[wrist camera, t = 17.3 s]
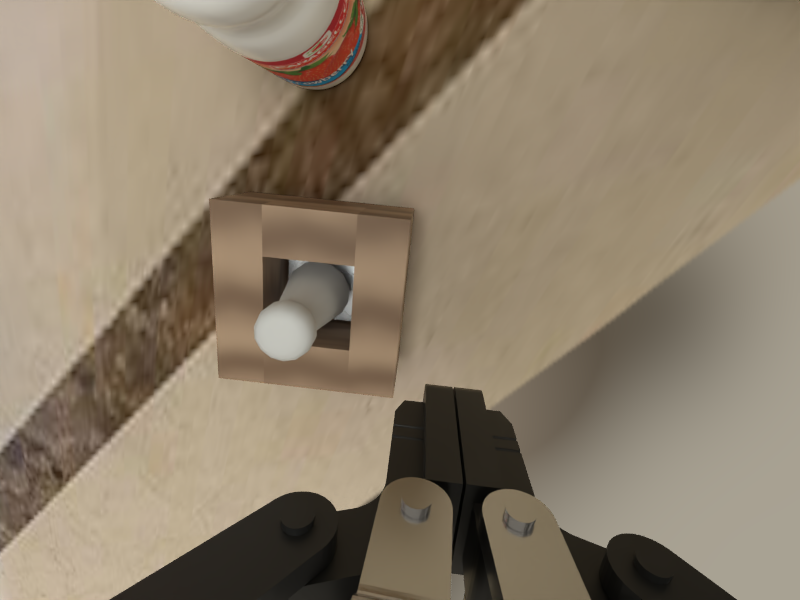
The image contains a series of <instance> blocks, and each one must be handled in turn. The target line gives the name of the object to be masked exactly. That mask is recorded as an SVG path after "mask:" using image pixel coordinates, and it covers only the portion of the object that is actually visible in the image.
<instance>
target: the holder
mask: <svg viewBox="0 0 800 600" xmlns="http://www.w3.org/2000/svg"><path fill="white" fill-rule="evenodd" d="M209 204H210V223H211V242H212V261H213V280H214V299H215V317H216V336H217V355H218V374H219V378H225V379H234V380H242V381H251V382H260V383H268V384H277V385H285V386H294V387H303V388H311V389H320V390H329V391H337V392H346V393H355V394H363V395H372V396H380V397H389V398H393V393H394V386H395V379H396V372H397V365H398V358H399V348H400V338H401V329H402V319H403V310H404V300H405V290H406V281H407V271H408V261H409V252H410V242H411V233H412V223H413V213H414V209H413V208H403V207H394V206H384V205H374V204H365V203H355V202H345V201H336V200H326V199H316V198H307V197H297V196H287V195H278V194H268V193H258V192H245V193H240V194H234V195H228V196H223V197H217V198H212V199H209ZM289 259H290V260H299V261H308V262H318V263H327V264H336V265H346V266H354V281H353V298H352V314H351V321H345V320H336V319H332V320H331V321H329V322H328V323H327V324H325V325H324V326H322V327H321V328H320V329H318V330H317V336H316V339H315V341H314V343H313V344H312V346H311V348H310V350H309V351H308V352H306V353H305V354H304V355H302V356H301V357H299V358H298V359H296V360H290V361H281V360H277V359H274V358H271V357H269V356H268V355H267V354H266V353H264V352H263V351H262V350H261V349H260V347H259V346H258V344H257V342H256V340H255V339H254V325H255V323H256V321H257V319H258V316H259V314H260V312H261V311H262V310H264V309H265V308H266V307H268V306H269V305H271V304H272V303H274V302H276V301H279V300H280V298H281V296H282V294H283V291H284V289H285V287H286V285H287V283H288V281H289Z"/></svg>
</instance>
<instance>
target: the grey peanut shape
mask: <svg viewBox="0 0 800 600" xmlns="http://www.w3.org/2000/svg"><path fill="white" fill-rule="evenodd" d="M348 301H349V286H348V283H347V281H346V279H345V277H344V275H343V273H341V272H340V271H339V270H338V269H337V268H336V267H334V266H333V265H331V264H327V263H318V262H309V263H304V264H303V265H301V266H300V267H298V268H297V269H296V270H294V271H293V272H292V274H291V277H290V279H289V281H288V283H287V285H286V287H285V289H284V291H283V294H282V296H281V298H280V300H279V301H276V302H274V303H272V304H271V305H269V306H268V307H266V308H265V309H264V310H262V311H261V312H260V314H259V316H258V319H257V321H256V323H255V325H254V339H255V340H256V342H257V344H258V346H259V347H260V349H261V350H262V351H263V352H264V353H266V354H267V355H268V356H269V357H271V358H274V359H277V360H281V361H290V360H296V359H298V358H299V357H301V356H302V355H304V354H305V353H306V352H308V351H309V350H310V348H311V346H312V344H313V343H314V341H315V339H316V336H317V330H318V329H320V328H321V327H322V326H324V325H325V324H327V323H328V322H329V321H331V320H332V319H334V318H335V317H336V316H338V315H339V314H341V313H342V312H343V310H344V308H345V307H346V305H347V303H348Z"/></svg>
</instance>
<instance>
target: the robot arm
mask: <svg viewBox="0 0 800 600" xmlns="http://www.w3.org/2000/svg"><path fill="white" fill-rule="evenodd" d="M451 573H453V574H461V575H464V585H465V593H464V598H463V600H737V599H735V598H734V597H733V596H731V595H730V594H728V593H727V592H726V591H725V590H723V589H722V588H721V587H719V586H718V585H716V584H715V583H714V582H712V581H711V580H710V579H708V578H707V577H706V576H704V575H703V574H702V573H700V572H699V571H698V570H696V569H695V568H693V567H692V566H691V565H689V564H688V563H687V562H685V561H684V560H682V559H681V558H680V557H678V556H677V555H676V554H674V553H673V552H672V551H670V550H669V549H667V548H666V547H664V546H663V545H661V544H659V543H657V542H656V541H653V540H651V539H649V538H646V537H644V536H641V535H636V534H620V535H616V536H615V537H613V538H612V539H611V540H610V541H609V543H608V545H607V548H604V547H601V546H599V545H596V544H594V543H591V542H588V541H586V540H583V539H581V538H578V537H576V536H573V535H572V534H569V533H568V532H566V531H564V530H562V529H561V528H559V526H558V524H557V521H556V519H555V518H554V515H553V514H552V512H551V511H550V510H549V509H548V508H547V507H546V505H545V504H543V503H542V502H541V501H540V500H538V499H536V498H535V496H534V493H533V490H532V487H531V483H530V480H529V477H528V474H527V471H526V467H525V464H524V461H523V458H522V455H521V453H520V448H519V445H518V442H517V441H516V436H515V433H514V429H513V426H512V424H511V423H510V422H509V421H508V420H507V419H506V417H505V416H504V415H503V414H502V413H501V412H500V411H492V410H486V407H485V402H484V398H483V394H482V391H481V390H473V389H464V388H456V387H454V389H453V388H452V387H447V386H438V385H429V384H426V385H425V390H424V398H423V402H415V401H406V400H405V401H404V402H403V403H402V404H401V405H400V406H399V407H398V408H397V409H396V411H395V418H394V426H393V433H392V441H391V449H390V456H389V464H388V472H387V479H386V484H385V487H384V489H383V491H382V492H381V494H380V495H379V496H378V497H377V498H376V499H375V500H373V501H372V502H370V503H368V504H366V505H364V506H361V507H358V508H354V509H348V510H341V511H336V509H335V507H334V506H333V504H332V503H331V502H330V501H329V500H328V499H326V498H325V497H323V496H321V495H319V494H316V493H312V492H293V493H289V494H286V495H283V496H281V497H279V498H277V499H275V500H273V501H272V502H270V503H268V504H267V505H265V506H263V507H262V508H260V509H258V510H257V511H255V512H253V513H252V514H250V515H249V516H247V517H245V518H244V519H242V520H240V521H239V522H237V523H235V524H234V525H232V526H230V527H229V528H227V529H225V530H224V531H222V532H220V533H219V534H217V535H215V536H214V537H212V538H211V539H209V540H207V541H206V542H204V543H202V544H201V545H199V546H197V547H196V548H194V549H192V550H191V551H189V552H187V553H186V554H184V555H182V556H181V557H179V558H178V559H176V560H174V561H173V562H171V563H169V564H168V565H166V566H164V567H163V568H161V569H159V570H158V571H156V572H154V573H153V574H151V575H149V576H148V577H146V578H145V579H143V580H141V581H140V582H138V583H136V584H135V585H133V586H131V587H130V588H128V589H126V590H125V591H123V592H121V593H120V594H118V595H116V596H115V597H113V598H112V599H110V600H451Z"/></svg>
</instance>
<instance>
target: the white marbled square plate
mask: <svg viewBox="0 0 800 600" xmlns="http://www.w3.org/2000/svg"><path fill="white" fill-rule="evenodd" d="M304 263H309V262H308V261H299V260H290V259H289V279H290V277H291V274H292V272H293V271H294V270H296V269H297V268H298V267H300V266H301V265H303V264H304ZM331 265H333V266H334V267H336V268H337V269H338V270H339V271H340V272H341V273H343V275H344V277H345V279H346V281H347V283H348V286H349V301H348V303H347V305H346V307H345V308H344V310H343V312H342V313H341V314H339V315H338V316H336V317H335V318H334V319H336V320H345V321H351V314H352V298H353V281H354V266H346V265H336V264H331Z"/></svg>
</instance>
